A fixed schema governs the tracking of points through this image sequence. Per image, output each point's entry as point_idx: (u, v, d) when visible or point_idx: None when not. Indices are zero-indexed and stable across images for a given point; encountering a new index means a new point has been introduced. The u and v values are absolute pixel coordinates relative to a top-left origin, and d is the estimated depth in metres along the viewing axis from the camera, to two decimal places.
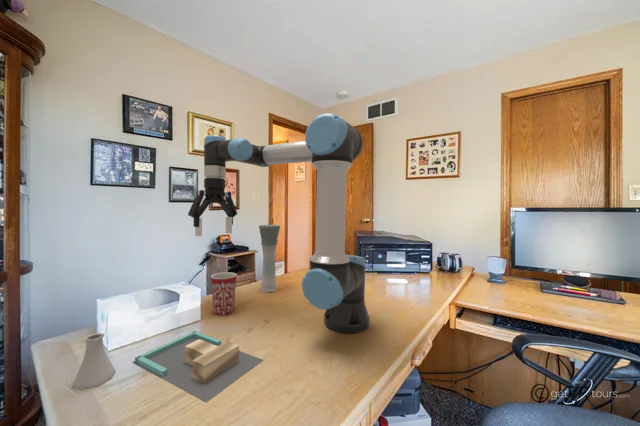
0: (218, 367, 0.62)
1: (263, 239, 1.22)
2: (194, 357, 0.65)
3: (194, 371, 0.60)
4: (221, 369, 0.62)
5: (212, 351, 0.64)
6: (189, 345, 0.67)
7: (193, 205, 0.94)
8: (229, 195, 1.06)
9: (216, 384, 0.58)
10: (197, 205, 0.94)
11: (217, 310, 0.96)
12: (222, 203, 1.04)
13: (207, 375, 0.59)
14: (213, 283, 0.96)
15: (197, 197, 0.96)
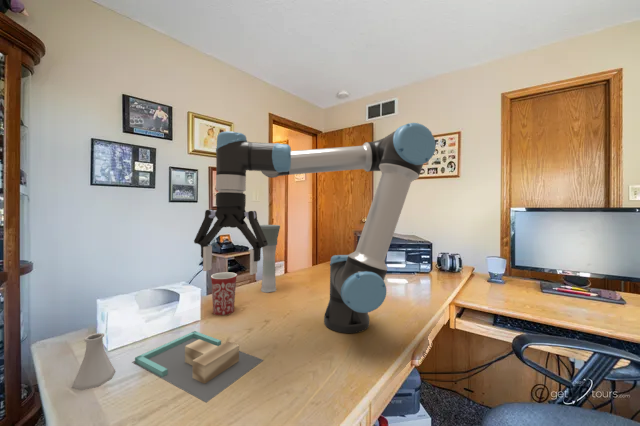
0: (218, 367, 0.62)
1: None
2: (194, 357, 0.65)
3: (194, 371, 0.60)
4: (221, 369, 0.62)
5: (212, 351, 0.64)
6: (189, 345, 0.67)
7: None
8: (249, 216, 0.70)
9: (216, 384, 0.58)
10: (200, 230, 0.73)
11: (217, 310, 0.96)
12: None
13: (207, 375, 0.59)
14: (213, 283, 0.96)
15: None
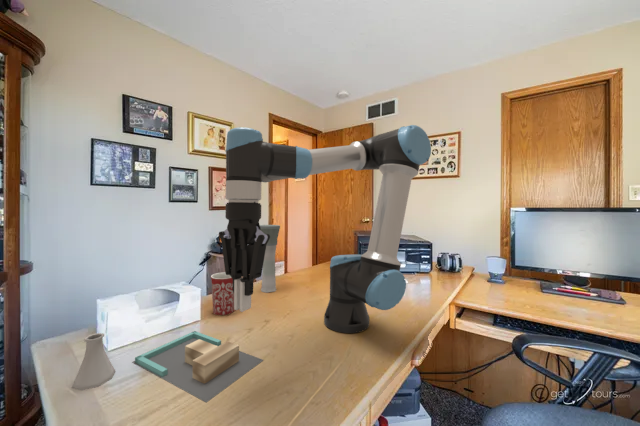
0: (218, 367, 0.62)
1: None
2: (194, 357, 0.65)
3: (194, 371, 0.60)
4: (221, 369, 0.62)
5: (212, 351, 0.64)
6: (189, 345, 0.67)
7: None
8: (257, 240, 0.56)
9: (216, 384, 0.58)
10: (224, 257, 0.60)
11: (217, 310, 0.96)
12: None
13: (207, 375, 0.59)
14: (213, 283, 0.96)
15: None
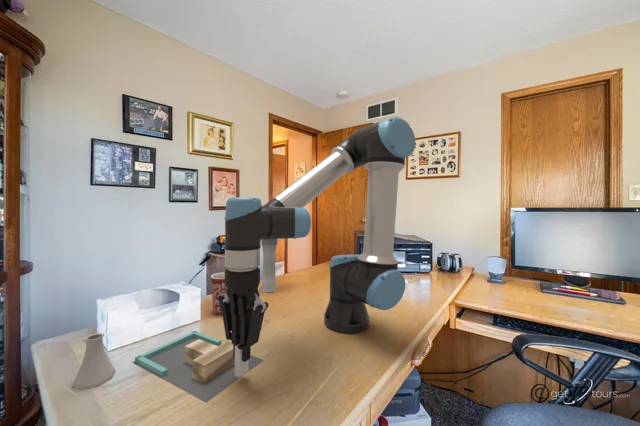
0: (218, 367, 0.62)
1: (263, 239, 1.22)
2: (194, 357, 0.65)
3: (194, 371, 0.60)
4: (221, 369, 0.62)
5: (212, 351, 0.64)
6: (189, 345, 0.67)
7: None
8: (256, 309, 0.56)
9: (216, 384, 0.58)
10: (224, 321, 0.61)
11: (217, 310, 0.96)
12: None
13: (207, 375, 0.59)
14: (213, 283, 0.96)
15: None
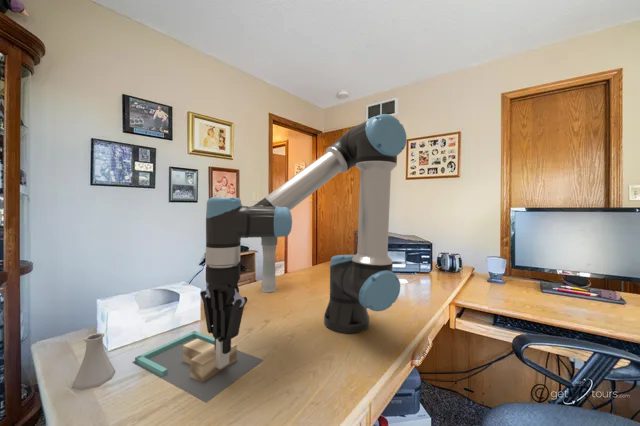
0: None
1: (263, 239, 1.22)
2: (192, 356, 0.65)
3: (192, 370, 0.60)
4: None
5: (210, 350, 0.65)
6: (187, 344, 0.67)
7: None
8: (235, 304, 0.59)
9: (216, 384, 0.58)
10: (206, 316, 0.63)
11: None
12: None
13: (205, 374, 0.59)
14: None
15: None
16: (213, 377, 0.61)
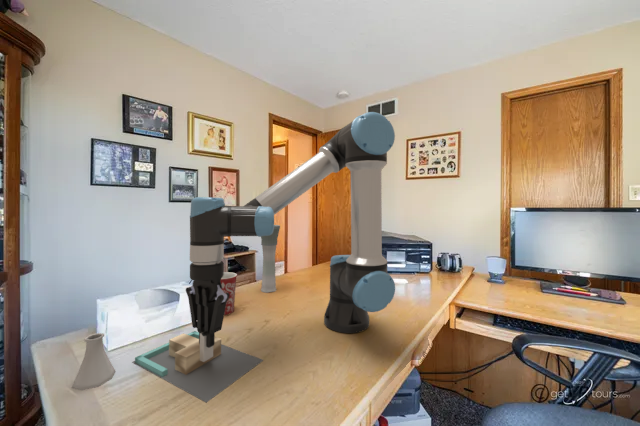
0: (199, 359, 0.65)
1: (263, 239, 1.22)
2: (177, 350, 0.68)
3: (176, 363, 0.63)
4: None
5: (195, 344, 0.67)
6: (173, 339, 0.70)
7: None
8: (217, 299, 0.62)
9: (216, 384, 0.58)
10: (191, 311, 0.66)
11: None
12: None
13: (188, 366, 0.62)
14: None
15: None
16: (213, 377, 0.61)
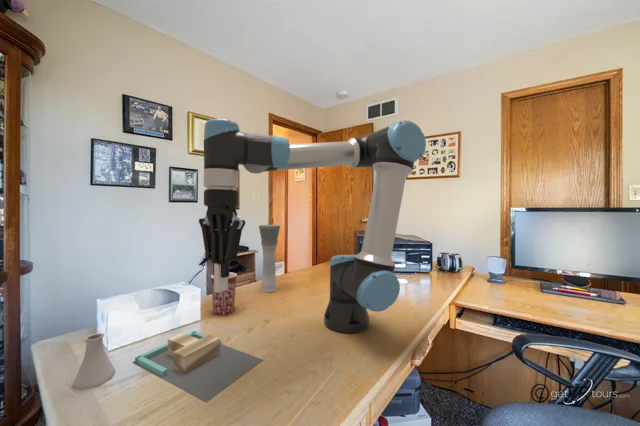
0: (198, 358, 0.65)
1: (263, 239, 1.22)
2: (176, 349, 0.68)
3: (175, 362, 0.63)
4: (201, 360, 0.66)
5: (193, 343, 0.67)
6: (172, 338, 0.70)
7: None
8: (233, 225, 0.59)
9: (216, 384, 0.58)
10: (205, 242, 0.64)
11: (217, 310, 0.96)
12: None
13: (187, 366, 0.62)
14: (213, 283, 0.96)
15: None
16: (213, 377, 0.61)
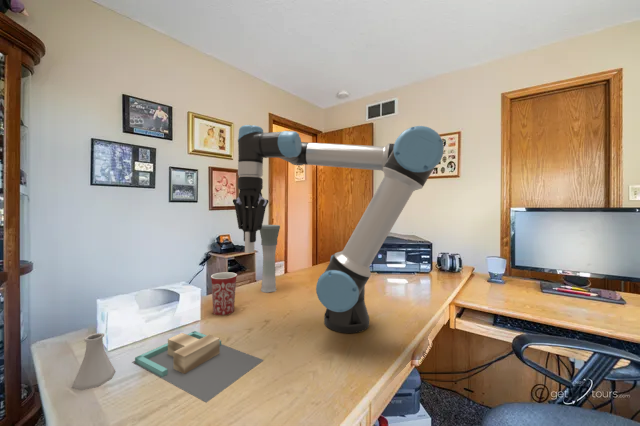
0: (198, 358, 0.65)
1: (263, 239, 1.22)
2: (176, 349, 0.68)
3: (175, 362, 0.63)
4: (201, 360, 0.66)
5: (193, 343, 0.67)
6: (172, 338, 0.70)
7: None
8: (259, 202, 0.81)
9: (216, 384, 0.58)
10: (237, 216, 0.86)
11: (217, 310, 0.96)
12: None
13: (187, 366, 0.62)
14: (213, 283, 0.96)
15: None
16: (213, 377, 0.61)
